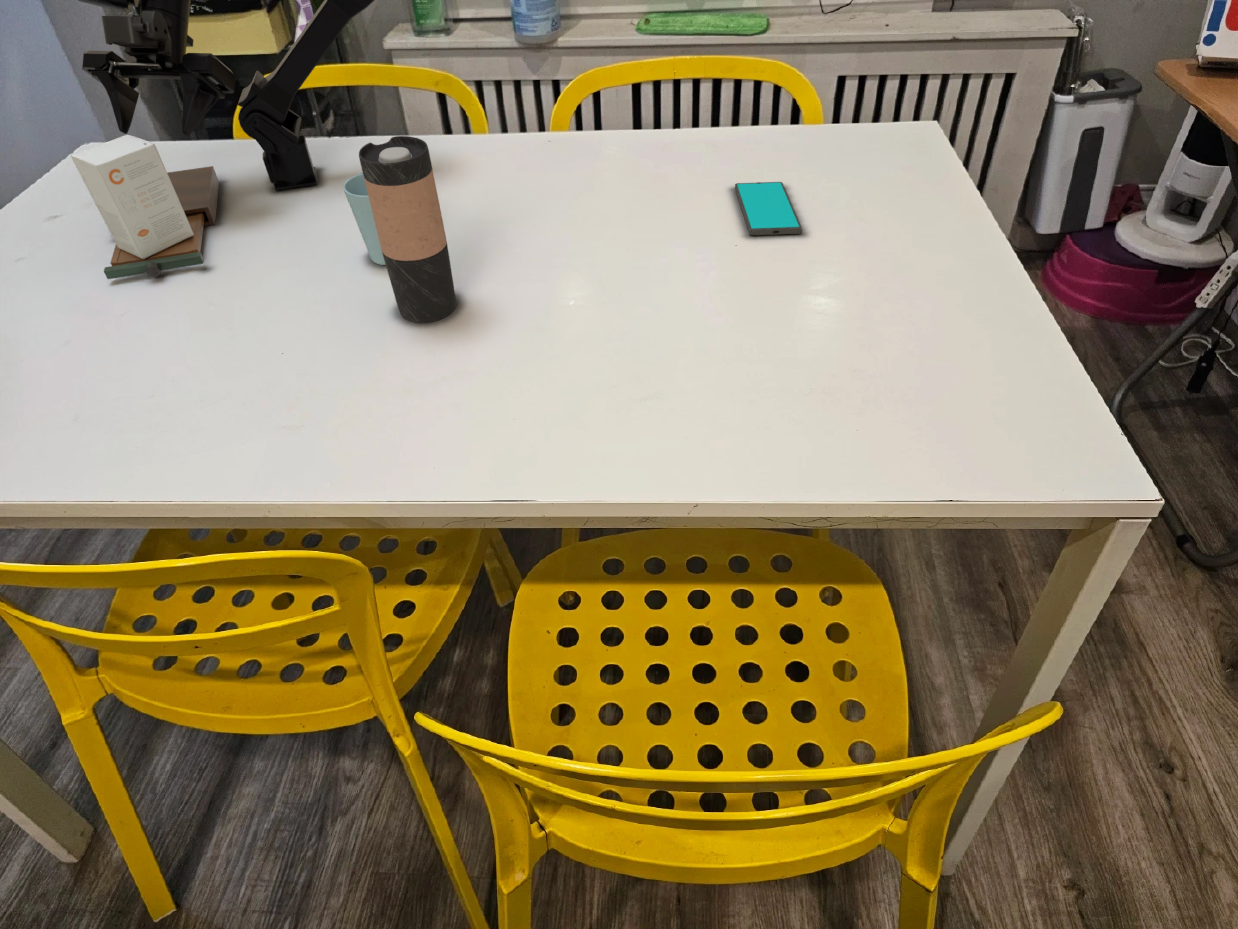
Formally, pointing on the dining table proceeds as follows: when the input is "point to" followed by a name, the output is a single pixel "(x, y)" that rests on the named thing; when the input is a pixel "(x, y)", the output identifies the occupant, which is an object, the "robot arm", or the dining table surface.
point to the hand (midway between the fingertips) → (154, 133)
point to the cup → (364, 215)
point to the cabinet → (197, 191)
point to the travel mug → (410, 226)
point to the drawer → (161, 255)
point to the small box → (134, 195)
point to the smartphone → (767, 208)
